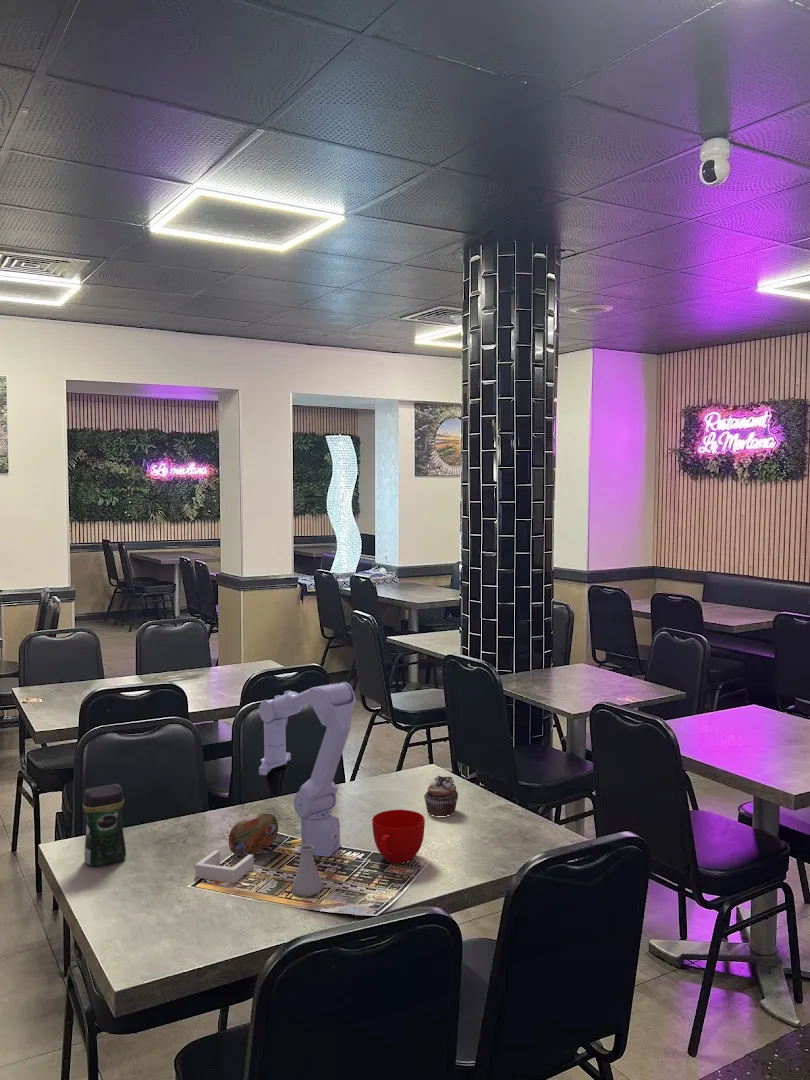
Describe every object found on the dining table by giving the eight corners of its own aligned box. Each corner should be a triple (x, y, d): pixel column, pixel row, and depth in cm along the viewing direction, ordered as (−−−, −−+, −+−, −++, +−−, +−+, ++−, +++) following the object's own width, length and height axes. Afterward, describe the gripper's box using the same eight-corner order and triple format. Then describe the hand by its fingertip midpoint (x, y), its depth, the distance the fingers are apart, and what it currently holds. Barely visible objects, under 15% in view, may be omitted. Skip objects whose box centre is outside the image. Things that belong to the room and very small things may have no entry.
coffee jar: (121, 851, 219) (119, 778, 218) (128, 861, 212) (127, 787, 211) (81, 859, 214) (79, 785, 213) (87, 870, 207) (86, 794, 206)
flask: (309, 900, 190) (309, 855, 190) (284, 893, 194) (284, 849, 194) (329, 888, 196) (329, 844, 196) (304, 881, 200) (304, 838, 200)
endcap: (253, 867, 208) (253, 855, 208) (234, 883, 199) (234, 870, 199) (215, 862, 211) (215, 849, 211) (195, 877, 203) (195, 864, 203)
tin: (235, 861, 212) (234, 827, 212) (226, 858, 214) (226, 825, 213) (279, 842, 224) (278, 810, 223) (270, 839, 226) (270, 807, 225)
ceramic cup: (358, 871, 205) (357, 830, 205) (384, 845, 221) (383, 807, 220) (409, 879, 200) (408, 837, 200) (432, 852, 216) (431, 812, 216)
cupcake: (426, 806, 250) (425, 772, 249) (459, 807, 248) (459, 773, 248) (422, 818, 240) (421, 782, 240) (456, 819, 239) (456, 783, 239)
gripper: (274, 735, 238) (274, 784, 238) (248, 749, 224) (249, 801, 225) (297, 737, 236) (297, 786, 236) (272, 751, 222) (273, 803, 222)
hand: (275, 793), depth 230 cm, fingers closed
